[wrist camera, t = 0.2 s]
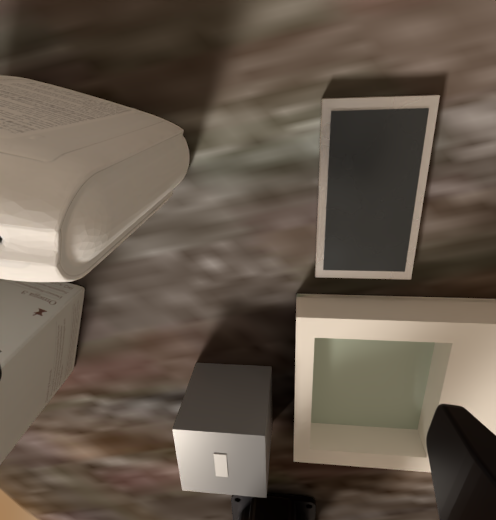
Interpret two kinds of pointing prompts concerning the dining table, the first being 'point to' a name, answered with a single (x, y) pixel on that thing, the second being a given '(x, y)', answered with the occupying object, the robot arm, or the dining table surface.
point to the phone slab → (372, 184)
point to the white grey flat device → (387, 375)
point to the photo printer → (77, 177)
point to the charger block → (225, 430)
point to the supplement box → (34, 350)
